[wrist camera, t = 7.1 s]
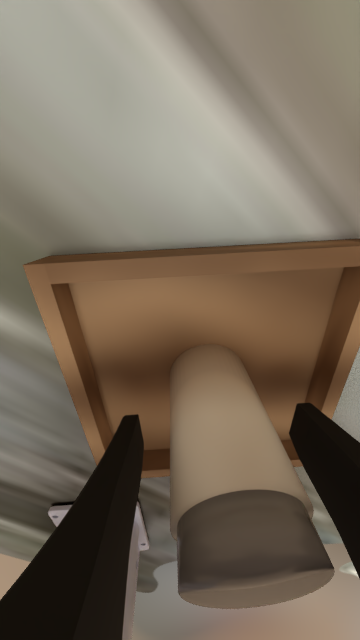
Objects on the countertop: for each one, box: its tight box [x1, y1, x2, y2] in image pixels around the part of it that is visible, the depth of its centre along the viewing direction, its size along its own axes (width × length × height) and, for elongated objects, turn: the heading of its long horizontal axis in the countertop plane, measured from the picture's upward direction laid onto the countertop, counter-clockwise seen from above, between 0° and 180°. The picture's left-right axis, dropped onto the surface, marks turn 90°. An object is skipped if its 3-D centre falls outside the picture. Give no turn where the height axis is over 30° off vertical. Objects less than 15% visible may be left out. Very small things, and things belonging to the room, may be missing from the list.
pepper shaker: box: [170, 344, 334, 609], centre depth 9 cm, size 4×4×8 cm
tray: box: [23, 239, 360, 478], centre depth 12 cm, size 15×15×2 cm
